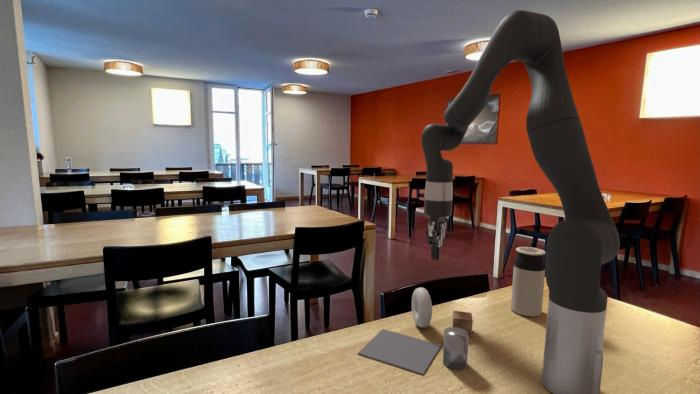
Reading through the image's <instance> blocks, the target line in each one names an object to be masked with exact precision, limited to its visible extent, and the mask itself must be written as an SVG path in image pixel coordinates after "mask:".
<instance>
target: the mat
mask: <svg viewBox="0 0 700 394" xmlns="http://www.w3.org/2000/svg"><path fill="white" fill-rule="evenodd" d="M441 347H442V345H441V344H439V343H435V342H431V341H429V340H428V341H427V340H425V339H421V338H417V337H413V336H410V335H406V334H402V333H398V332H395V331H391V330H388V329H385V328H381V330H380V331H379V332H377V334H376V335H375V336H373V337H372V339H371V340H369V342H367V343H366V344H365V345H364V346H363V347H362V348H361V349H360V351H358V353H357V355H359V356H363V357H366V358H369V359H372V360H375V361H379V362H380V363H384V364H387V365H389V366H394V367H397V368H400V369H403V370H406V371H409V372H411V373H412V372H413V373H416V374H419V375H420V376H424V375H425V373H426V372H427V370H428V368H429V367H430V365H431V363H432V361H433V360H434V359H435V358H436V356H437V353H438V352H439V351H440V349H441Z"/></svg>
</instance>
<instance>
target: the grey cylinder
mask: <svg viewBox="0 0 700 394" xmlns="http://www.w3.org/2000/svg"><path fill="white" fill-rule="evenodd" d="M443 333H444V334H443V352H442V353H443V354H442V364H443V366H444V367H446V368H447V369H449V370H452V371H458V372H459V371H465V370H466V369H467V368H468V358H469V357H468V356H469V355H468V354H469V339H470V337H469V333H468V332H467V331H466V330H464V329H461V328H457V327H452V326H450V327H446V328H445V329H444V332H443Z"/></svg>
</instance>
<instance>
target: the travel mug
mask: <svg viewBox="0 0 700 394" xmlns="http://www.w3.org/2000/svg"><path fill="white" fill-rule="evenodd" d="M515 251H516V256H515V258H514V259H513V271H512V272H513V273H512V283H511V284H512V286H511V299H510V300H511V301H510V309H511V310H512V311H513V312H514V313H515V314H517V315H519V316H524V317H528V316H529V317H531V318H533V317H534V318H536V317H539V316H541V315H542V313H543V302H544V301H543V300H544V290H545V279H546V260H545V259H544V257H545V255H546V252H547V251H545V250H544V249H540V248H539V247H538V248H536V247H532V246H519V247H516V248H515Z"/></svg>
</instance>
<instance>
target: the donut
mask: <svg viewBox="0 0 700 394" xmlns="http://www.w3.org/2000/svg"><path fill="white" fill-rule="evenodd" d="M411 312H412V317H413V321H414V323H415V324H416V325H417V326H418V327H419V328H427V327H429V325H430V324H431V321H432V316H433V305H432V299H431V295H430V294H429V291H428V290H427V289H426V288H425V287H417V288H415V289H414V291H413V292H412V296H411Z"/></svg>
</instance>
